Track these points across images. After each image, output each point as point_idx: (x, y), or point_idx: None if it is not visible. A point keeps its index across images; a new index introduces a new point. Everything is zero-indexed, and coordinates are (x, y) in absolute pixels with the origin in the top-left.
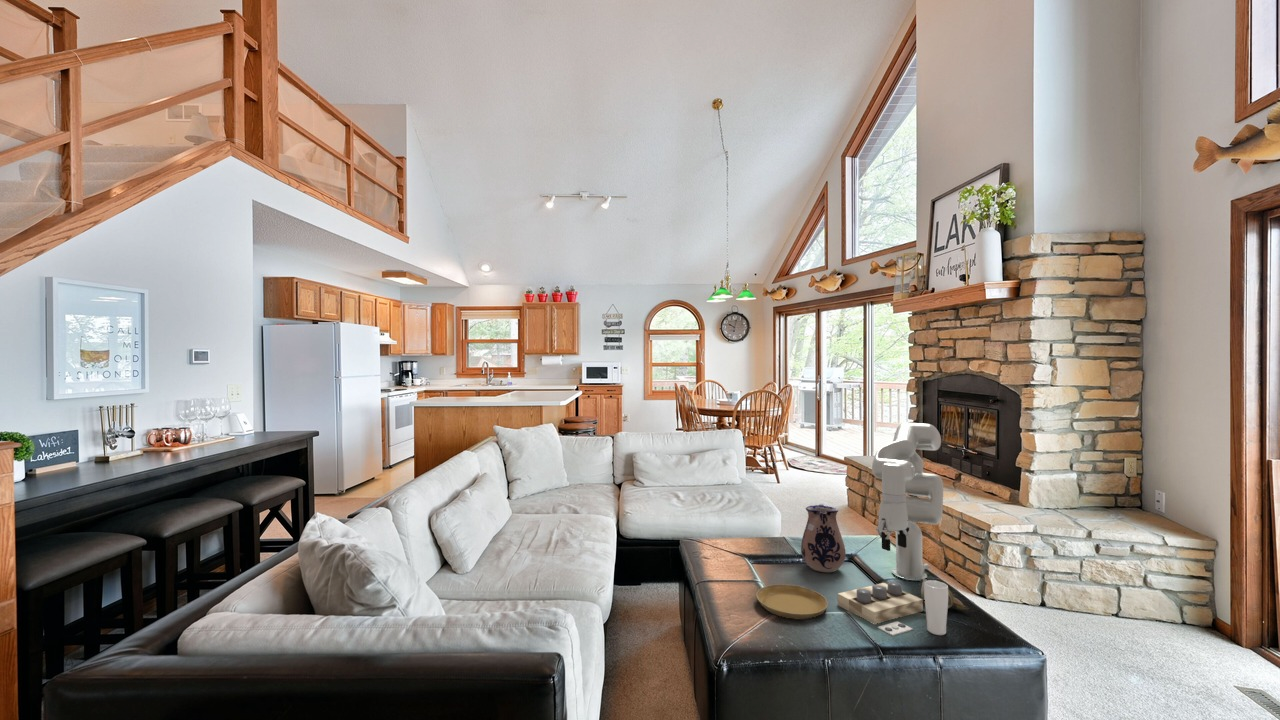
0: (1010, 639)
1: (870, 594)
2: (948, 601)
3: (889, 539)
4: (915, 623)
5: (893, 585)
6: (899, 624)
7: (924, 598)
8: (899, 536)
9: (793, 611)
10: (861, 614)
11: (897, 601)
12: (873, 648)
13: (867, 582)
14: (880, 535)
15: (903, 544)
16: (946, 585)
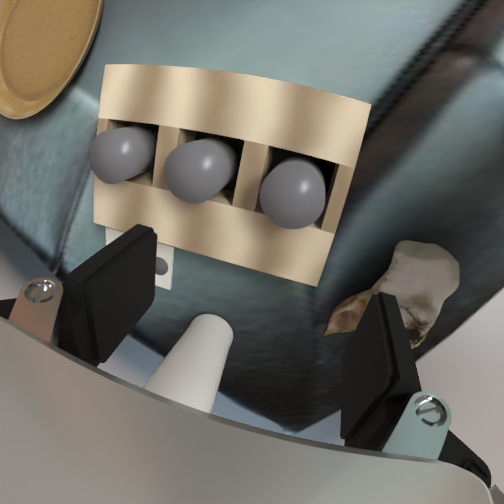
0: (310, 420)
1: (117, 182)
2: None
3: (91, 363)
4: (212, 280)
5: (271, 201)
6: (157, 260)
7: (161, 366)
8: (372, 386)
9: (23, 61)
10: None
11: (219, 233)
12: (49, 260)
13: (414, 16)
14: (2, 309)
15: (347, 364)
16: None
